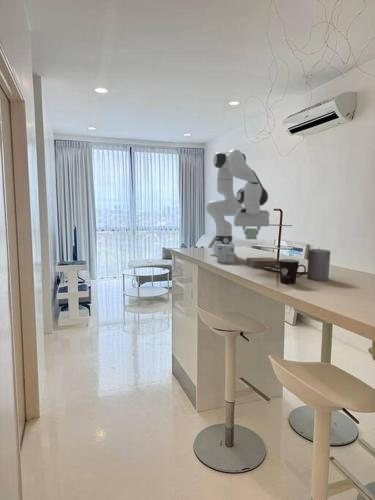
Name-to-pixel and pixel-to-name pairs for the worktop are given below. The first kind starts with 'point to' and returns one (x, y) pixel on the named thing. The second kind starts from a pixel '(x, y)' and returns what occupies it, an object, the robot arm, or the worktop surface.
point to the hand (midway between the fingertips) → (251, 234)
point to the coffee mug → (289, 270)
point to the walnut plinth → (261, 262)
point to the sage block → (251, 233)
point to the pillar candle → (318, 264)
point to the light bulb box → (225, 253)
